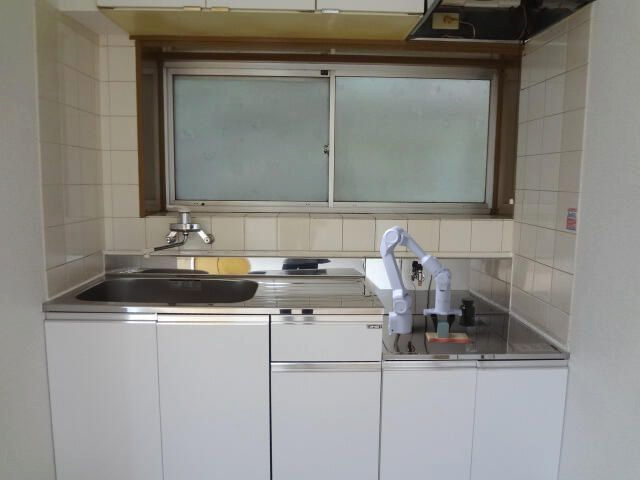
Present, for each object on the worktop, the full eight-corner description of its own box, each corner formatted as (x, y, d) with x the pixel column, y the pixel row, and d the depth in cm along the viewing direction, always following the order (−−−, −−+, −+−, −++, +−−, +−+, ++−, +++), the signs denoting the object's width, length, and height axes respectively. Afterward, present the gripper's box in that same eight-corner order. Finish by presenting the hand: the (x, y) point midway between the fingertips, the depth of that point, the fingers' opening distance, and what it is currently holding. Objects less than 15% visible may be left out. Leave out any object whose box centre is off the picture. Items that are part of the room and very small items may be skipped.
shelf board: (429, 344, 173) (429, 338, 172) (425, 334, 183) (425, 329, 182) (471, 345, 172) (471, 339, 171) (465, 335, 181) (465, 329, 181)
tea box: (437, 338, 176) (438, 323, 175) (435, 332, 182) (435, 318, 181) (448, 338, 176) (449, 324, 175) (445, 332, 182) (446, 318, 181)
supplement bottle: (476, 329, 188) (477, 301, 186) (459, 328, 189) (460, 301, 187) (473, 323, 195) (475, 297, 192) (457, 322, 196) (458, 296, 194)
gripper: (425, 302, 173) (424, 335, 176) (464, 302, 172) (462, 336, 174) (423, 296, 180) (422, 329, 182) (460, 297, 179) (458, 329, 181)
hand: (441, 332), depth 179 cm, fingers closed on tea box, 4 cm apart
